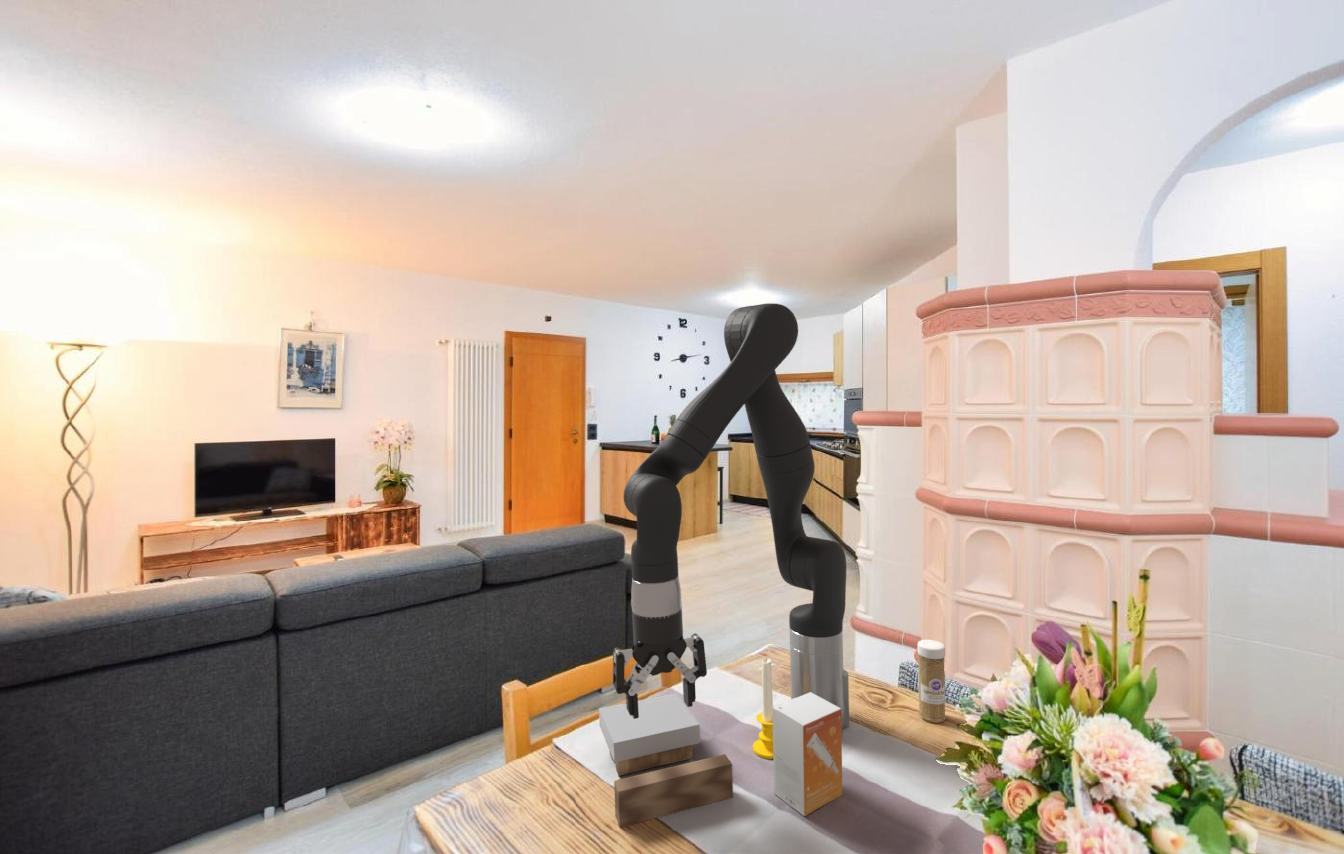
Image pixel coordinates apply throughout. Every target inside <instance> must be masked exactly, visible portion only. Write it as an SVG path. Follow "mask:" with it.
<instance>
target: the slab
mask: <svg viewBox="0 0 1344 854" xmlns="http://www.w3.org/2000/svg"><path fill="white" fill-rule="evenodd" d="M638 712H639V718H636V719H634V718H633V716H632V715H631V716H630V714H629V712H628V710H627V707H626V702H625V703H620V704H615V705H611V706H610V705H609V706H604V707H598V716H599V717H598V718H599V721H598V722H599V723H598V724H599V728H600V731H601V733H602V735H603V738H604V740H605V743H606V746H607V748H608V749H609V750H610V751H609V754H610V753H611V755H612V758H613V759H612V758H611V759H612V760H613V762H614V763H615V762H619V761H623V760H628V759H632V758H636V757H641V756H645V755H649V754H654V753H658V752H662V751H667V750H671V749H676V748H680V747H684V746H689V745H692V746H693V745H696V744H700V743H701V735H700V730H701V729H700V727H701V726H700V723H699V721H698V720H697V718H696V717H695V716H694V715H693V714H692V712H691V711H690V710H689V707H687V705H686V704H685V702H684V700H682V699H681V697H680V695H679V694H678V693H677V692H676V693H675V692H674V693H669V694H665V695H661V696H656V697H655V696H654V697H651V698H650V697H649V698H645V699H644V698H643V699H640V700H639V699H638ZM611 755H610V756H611Z"/></svg>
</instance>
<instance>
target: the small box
mask: <svg viewBox="0 0 1344 854" xmlns="http://www.w3.org/2000/svg"><path fill="white" fill-rule="evenodd" d="M772 709H773V759H772V760H773V793H774V795H776V796H777V797H778V798H779V799H780V800H782V801H783V802H784V803H786V804H787V805H788V806H790V807H791V808H792V809H794V810H795V811H796V812H798V814H801V815H802V816H803V817H807V816H808V815H810V814H812V813H813V812H814V811H816V810H818V809H819V808H821V807H823V806H825V805H826V804H828V803H830V802H832V801H834V800H835V799H837V798H839V797H841V796H842V795H843V756H842V755H843V748H842V747H843V742H842V741H843V739H842V737H843V736H842V733H843V730H842V722H841V708H839V707H837V706H836V705H834V704H832V703H830V702H828V701H826V700H824V699H823V698H821V697H819V696H817V695H815V694H813V693H811V692H810V693H807V694H805V695H802V696H800V697H797V698H794V699H791V698H790V699H789V700H787V701H785V702H782V703H781V704H778V705H776V706H773V708H772Z"/></svg>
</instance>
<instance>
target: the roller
mask: <svg viewBox="0 0 1344 854" xmlns="http://www.w3.org/2000/svg"><path fill="white" fill-rule="evenodd" d="M693 754H694V752H693V745H689V746H684V747H680V748H676V749H671V750H667V751H662V752H658V753H654V754H649V755H645V756H641V757H636V758H632V759H628V760H623V761H619V762H615V768H616V772H617V775H618V776H623V775H627V774H631V773H636V772H640V771H644V770H648V769H653V768H657V767H662V766H665V765H669V764H673V763H678V762H682V761H686V760H690V759H692V758H693Z"/></svg>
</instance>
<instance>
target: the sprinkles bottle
mask: <svg viewBox="0 0 1344 854" xmlns="http://www.w3.org/2000/svg"><path fill="white" fill-rule="evenodd" d="M916 646H917V655H918V670H917V672H918V673H917V675H918V678H917V679H918V680H917V681H918V683H917V684H918V685H917V686H918V687H917V689H918V690H917V691H918V704H919V705H918V708H919V709H918V716H919V718H921V719H922V720H924V721H925V722H926V721H927V722H929V723H933V724H934V723H936V724H937V723H938V724H939V723H943V722H945V720H946V719H947V718H946V672H945V657H946V647H945V645H944V644H943V643H942V642H940V641H937V640H933V639H922V640H919V641H918V642H917V645H916Z"/></svg>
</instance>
